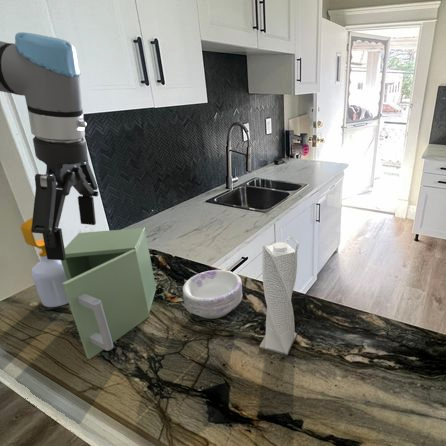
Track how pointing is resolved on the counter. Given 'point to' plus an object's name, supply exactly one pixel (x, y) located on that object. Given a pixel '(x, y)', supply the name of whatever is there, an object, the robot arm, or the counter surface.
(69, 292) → the cupboard door
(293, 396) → the counter surface
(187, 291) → the paper bowls
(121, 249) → the cupboard
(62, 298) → the soap bottle
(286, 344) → the skyscraper
